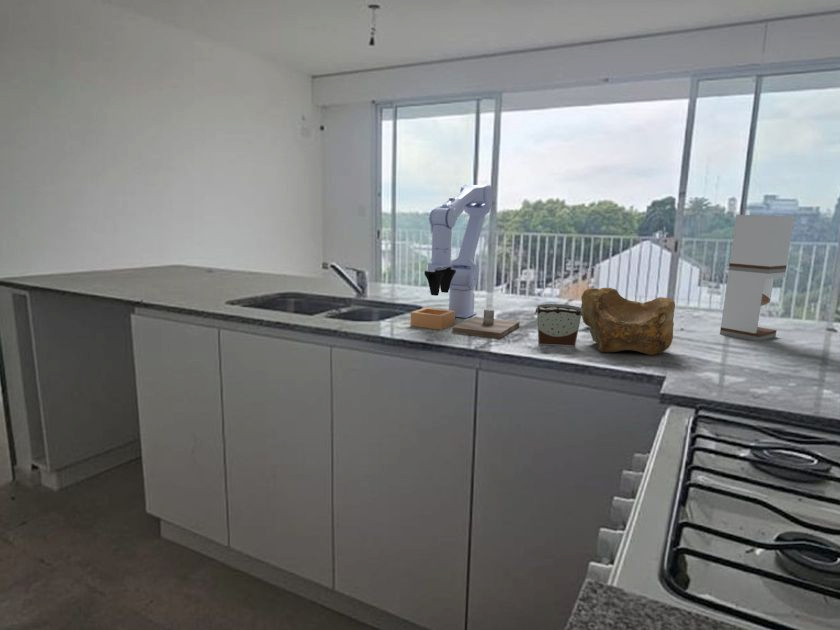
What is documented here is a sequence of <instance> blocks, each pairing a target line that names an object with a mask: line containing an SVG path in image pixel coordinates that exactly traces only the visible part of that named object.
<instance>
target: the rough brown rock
mask: <svg viewBox="0 0 840 630" xmlns="http://www.w3.org/2000/svg"><path fill="white" fill-rule="evenodd" d="M675 307H676V304H675V301H674V300H673V299H671V298H669V297H662V296H661V297H656V298H654V299H652V300H648V301H646V302H644V303H643V302H642V303H641V302H639V301H635V300H629V299H627V298H625V297H623V296H622V295H621V294H620V293H619V291H618V290H617V289H616V288H613V287H602V288H596V287H594V288H592V287H591V288H587V289H585V290H584V291H583V292H582V295H581V306H580V308H582V311H583V315H584V317H583V316H581V318H582V322H583V323H584V324H585V325H586V326H587V327H589V333H590V335H591V338H592V341H594V343H596V345H597V349H598V351H599V352H600V353H616V352H620V351H635V352H638V353H642V354H645V355H649V356H657V355H658V354H661V353H664V352H665V351H666V350H668V349H670V347H671V346H672V343H673V339H674V324H675V322H674V316H675V315H674V314H675Z"/></svg>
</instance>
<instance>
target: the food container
mask: <svg viewBox="0 0 840 630" xmlns="http://www.w3.org/2000/svg"><path fill="white" fill-rule="evenodd" d="M536 314H537V337H538V338H537V341H538V345H540V346H541V345H543V346H558V347H559V346H560V347H562V346H563V347H576V343H577V338H578V333H579V328H580V323H581V318H582V316H583V317H584V315H583V311H582V308H581V306H576V305H570V304H562V303H560V304H559V303H544V304H538V305H537V307H536V309H535V312H534V315H536Z"/></svg>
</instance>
